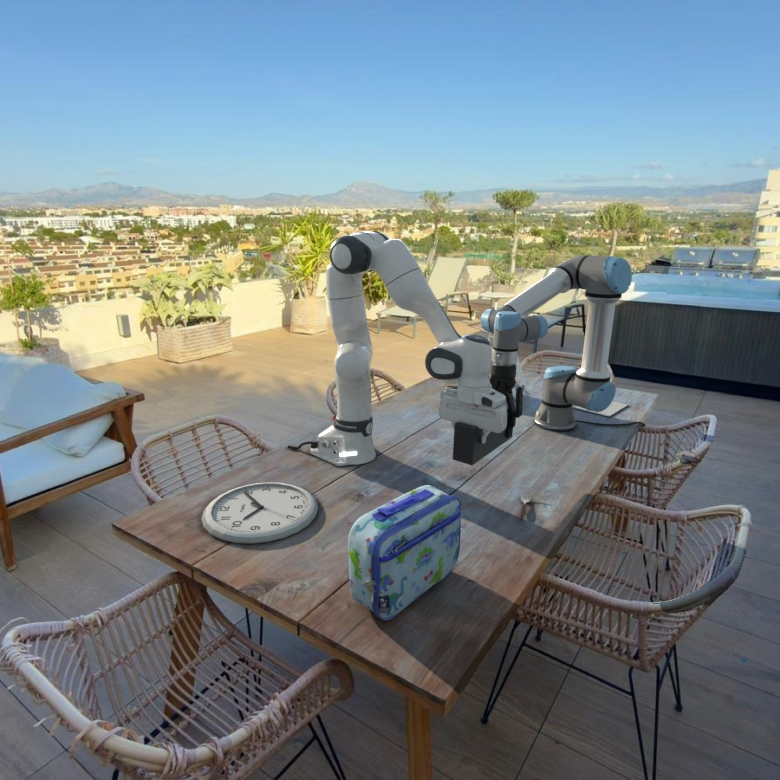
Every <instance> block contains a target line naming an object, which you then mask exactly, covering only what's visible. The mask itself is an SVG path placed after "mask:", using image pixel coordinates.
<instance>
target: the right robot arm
mask: <svg viewBox="0 0 780 780" xmlns="http://www.w3.org/2000/svg"><path fill="white" fill-rule="evenodd" d="M632 280H633V272H632V267H631V265H630V263H629V261H627V260H626V259H625V258H624V257H618V256H614V255H590V254H582V255H578V256H577V255H576V256H574V257H571V258H569V259H567V260H565V261H563V262H561V263H559V264H557V265H556V266H554V267H553V268H551V269H550V270H549V271H548V273H547V275H546V276H544V277H543V278H541V279H540V280H539V281H537V282H536V283H534V284H533V285H531V286H529V287H528V288H527V289H525V290H524V291H523V292H521V293H520V294H518V295H517V296H515V297H514V298H512V299H510V300H509V301H508V302H506V303H505V304H504V305H502V306H500V307H499V308H497V309H495V308H487V309H486V310H484V311H483V312H482V314H481V316H480V320H479V321H480V322H479V323H480V326H481V328H482V329H483V331H486V332H488V333H491V334H493V337H492V338H493V341H492V350H493V352H492V362H493V363H492V364H491V372H490V376H489V380H490V386H491V388H493V389H494V390H496V391H498V392H499V393H501V394H503V395H505V397H506V401H505V402H506V403H507V406H508V410H509V415H510V417H508V418H507V429H506V438H509V437H510V436H512V437H513V433H512V428H513V429H514V428H515V427H516V423H517V419H518V418H520V417H522V416H523V414H524V413H523V412H524V411H523V406H524V404H523V403H524V401H523V399H524V396H523V395H524V391H523V390H524V388H525V386H524V385H521V384H519V383H517V381H516V377H517V369H516V367H517V366H516V363H517V355H518V354H519V343H524V342H531V341H537V340H540V339H543V338H544V337H546V336H547V334H548V331H549V323H548V320H547V319H546V318H545V317H544V316H543V315H540V314H537V315H536V314H532V313H534V312H536V311H537V310H538V309H540V308H541V307H543V306H544V305H546V304H547V303H548V302H549V301H552V300H553V299H554V298H555V297H557V296H558V295H559V294H564V293H567V292H569V291H570V290H576V289H578V290H585V293H584V297H585V298H586V299H587V300H588V307H587V315H586V316H587V317H586V322H585V323H586V325H585V333H584V340H583V348H582V356H581V364H580V365H581V366H580V368H577V367H576V366H571V365H570V366H569V365H557V366H556V365H555V366H550V367H547V368H546V369H545V371H544V375H543V378H542V379H543V381H542V382H543V383H542V394H541V402H540V405H539V407H538V409H537V410H536V411H535V416H534V424H535V425H536V426H537V427H539V428H542V429H544V430H549V431H556V432H567V431H572V430H574V429H575V428H576V423H580V424H588V425H594V426H605V427H620V426H632V425H638V424H639V425H642V426H643V427H647V425H646V424H645V423H644V422H642V421H633V422H627V423H601V422H592V421H587V420H585V421H584V420H578V419H576V418H575V417H576V416H575V413H574V407H576V406H578V407H581V408H584V409H587V410H589V411H590V410H591V411H595V412H601V411H603V410H605V409H606V408H607V407H608V406H609V405H610V404H611V402H612V401H614V398H615V396H616V392H617V388H616V384H615V383H614V382H613V381H611V373H610V372H609V371H608V363H609V356H610V347H611V342H612V333H613V326H614V319H615V312H616V304H617V302H618V301H619V300H621V299H622V295H623V294H626V293H627V292H628V290H630V286H631V284H632ZM531 314H532V315H531ZM518 356H519V355H518ZM513 388H515V391H516V399H515V400H514V396H513V392H512V389H513ZM573 406H574V407H573Z"/></svg>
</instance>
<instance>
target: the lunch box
mask: <svg viewBox="0 0 780 780" xmlns="http://www.w3.org/2000/svg"><path fill="white" fill-rule="evenodd" d="M461 520H462V506H461V500H460V498H459V497H458V496H457V495H454V494H450V495H449V494H448V493H445V492H444V491H442V490H440V489H438V488H436V487H435V486H432V485H430V484H425V485H420V486H418V487H416V488H415V489H412V490H410V491H408V492H406V493H404V494H402V495H400V496H398V497H396V498H394V499H392V500H390V501H388V502H386V503H384V504H382V505H380V506H378V507H377V508H375V509H372V510H371V511H368V512H367V513H365V514H362V515H361V516H359V517H357V519H356V520H355V521H354V523H353V524H352V526H351V528H350V530H349V533H348V536H347V537H348V538H347V557H348V559H347V560H348V586H349V592H350V597H351V599H352V600H353V601H355V602H356V603H358V604H360V605H362V606H364V607H365V608H366V609H368V610H369V611H371V612H372V613H374V615H375V616H376V617H377V618H379V619H380V620H383V621H390V620H393V619H394V618H395V617H397V616H398V615H399V614H400V613H401V612H402V611H403V610H405V609H406V608H407V607H408V606H409V605H411V604H412V603H414V602H415V601H416V600H417V599H419V598H420V597H421V596H422V595H424V594H425V593H426V592H427V591H429V589H431V588H432V587H433V586H435V585H436V584H438V583H439V582H440V581H442V580H444V579H445V578H446V577H448V575H450V573H451V572H452V571H453V570H454V568H455V566H456V564H457V562H458V559H459V555H460V552H461V551H460V549H461V535H462V534H461V533H462V521H461Z"/></svg>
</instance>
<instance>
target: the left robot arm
mask: <svg viewBox="0 0 780 780" xmlns="http://www.w3.org/2000/svg"><path fill="white" fill-rule="evenodd" d="M329 261H330V262H329V263H328V264H327V266H326V269H325V288H326V289H325V290H326V299H327V306H328V311H329V318H330V325H331V327H332V331H333V335H334V338H335V342H336V348H337V353H335V355H334V359H333V360H334V361H333V363H334V364H333V365H334V379H335V387H336V409H337V411H336V414H334V415H333V416H331V417H330V422H333V424H331V425H330V426H328V427H327V428H325V429H324V430H323V431H321V432H320V433H319V434H318V436H314V437H313V438H312V439H311V440H310V441H309V440H308V441H304V442H303V441H302V442H301V443H300V444H299V445H298V446H293V445H287V449H291V450H300V449H301V448H302V447H303V446H306V445H310V449H309V454H310V455H312V456H314V457H317V458H318V459H321V460H323V461H326V462H327V463H330V464H332V465H334V466H336V467H344V466H351V465H354V466H356V465H364V464H367V463H370V462H372V461H374V460H375V459H376V457H377V453H376V450H375V446H374V439H373V427H374V419H373V417H374V415H373V414H372V380H371V379H372V373H371V372H372V371H371V369H372V368H371V367H372V361H373V355H374V354H373V353H374V351H373V345H372V340H371V333H370V329H369V323H368V317H367V310H366V303H365V302H366V301H365V294H364V289H363V288H364V287H363V277H364V275H365V274H366V273H371V272H375V273H377V274H378V276H379V278H380V279H381V281H382V284H383V285H384V287H385V290H386V292H387V294H388V296H389V297H390V299H391V300H392V301H393V303H394V304H395V305H396V307H398V308H400V309H402V310H405V311H408V312H410V313H413V314H415V315H417V316H419V318H421V319H422V320H423V321H424V322H425V323H426V325H427V327H428V328H429V330H430V332H431V333H432V335H433V337H434V339H435V341H436V342H437V345H436V346H435V347H433V348H431V349H430V350H429V351H428V352H427V354H426V356H425V359H424V366H425V369H426V371H427V373H428V374H429V375H430V377H432V378H433V379H436V380H440V381H442V380H450V379H457V380H458V384H457V388H456V389H455V388H450V387H445V388H443V389H441V391H440V401H439V406H438V413H437V414H438V417H439V419H442V420H446V421H449V422H451V427H452V429H453V430H454V427H455V423H457V422H461V423H465V424H469V425H473V426H477V427H478V428H480V429H483V433H484V435H483V436H480V437H479V443H482V444H484V443H485V442H486V437H487V436H488V434H489V433H490V432H495V433H501V432H502V431H504V430H505V429H506V427H507V409H506V407H505V405H504V404H503V403H505V402H506V397H505V395H504V394H502V393H500V392H498V391H496V390H494V389H493V387H492V386H491V383H490V380H489V378H490V375H491V372H490V371H491V364H492V350H493V349H492V350H491V348H492V344H491V342H490V341H489V340H488V339H487V338H485V337H484V336H481V335H478V334H471V333H469V334H465V335H463V336H461V335H460V334H459V333H458V332H457V330H456V329H455V326H454V325H453V323H452V321H451V320H450V318H449V316H448V314H447V313H446V311H445V310H444V308H443V306H442V304H441V303H440V301H439V300H438V298H437V296H436V295H435V293H434V292H433V290H432V288H431V286H430V285H429V282H428V281H427V278H426V277H425V275H424V273H423V271H422V268H421V267H420V265H419V262H418V261H417V260H416V258H415V256H414V255H413V253H412V252H411V250H410V249H409V248H408V246H407V245H406V244H405V242H404V241H402V240H401V239H399V238H390V237H389V236H387V234H385V233H384V232H381V231H377V230H371V231H359V232H358V231H357V232H356V233H352V234H347V235H346V234H345V235H342V236H340V237H338V238H336V239H335V240H334V241H333V242H332V244H331V245H330V247H329Z"/></svg>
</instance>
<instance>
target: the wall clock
mask: <svg viewBox="0 0 780 780" xmlns="http://www.w3.org/2000/svg"><path fill="white" fill-rule="evenodd" d="M318 511H319V505H318V501H317V499H316V498H315V496H314V495H313V494H312V493H310V492H309V491H307V490H306V489H304V488H302V487H299V486H297V485H294V484H290V483H285V482H271V481H269V482H256V483H250V484H246V485H242V486H239V487H235V488H233V489H229V490H227V491H226V492H224V493H221V494H219V495H218V496H217V497H216V498H214V499H213V500H211V502H209V503H208V504H207V506H206V507H205V508H204V510H203V511H202V515H201V523H202V527H203V528H204V530H205V531H207V532H208V533H209V535H211V536H213V537H214V538H217V539H219V540H221V541H225V542H230V543H233V544H234V543H235V544H260V543H261V544H262V543H270V542H273V541H277V540H282V539H285V538H287V537H289V536H292V535H294V534H297V533H299V532H300V531H302V530H303V529H304V528H306V527H308V526H309V525H310V524H311V523H312V522H313V521H314V519H315V518H316V516H317V514H318Z"/></svg>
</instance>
